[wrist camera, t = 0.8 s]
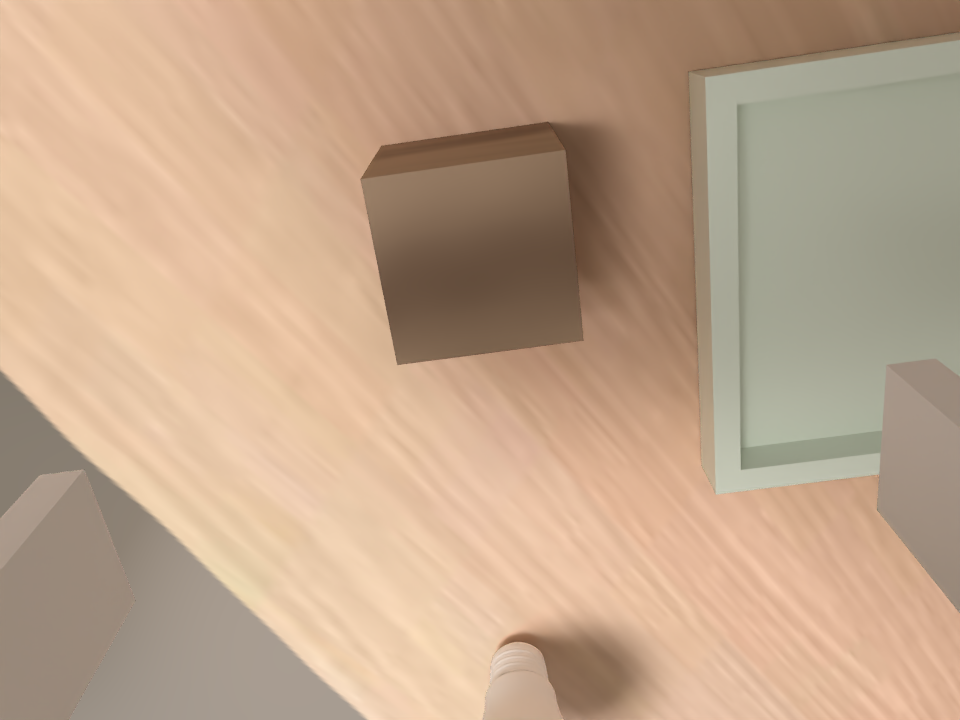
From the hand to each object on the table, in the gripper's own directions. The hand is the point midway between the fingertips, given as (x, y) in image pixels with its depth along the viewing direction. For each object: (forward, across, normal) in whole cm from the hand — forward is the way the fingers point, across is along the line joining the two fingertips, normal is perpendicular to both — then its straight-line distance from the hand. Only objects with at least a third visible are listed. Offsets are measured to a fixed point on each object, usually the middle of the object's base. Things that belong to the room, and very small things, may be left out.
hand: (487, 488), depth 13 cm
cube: (+18, 0, 0) cm, 18 cm away
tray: (+18, +16, -4) cm, 24 cm away
